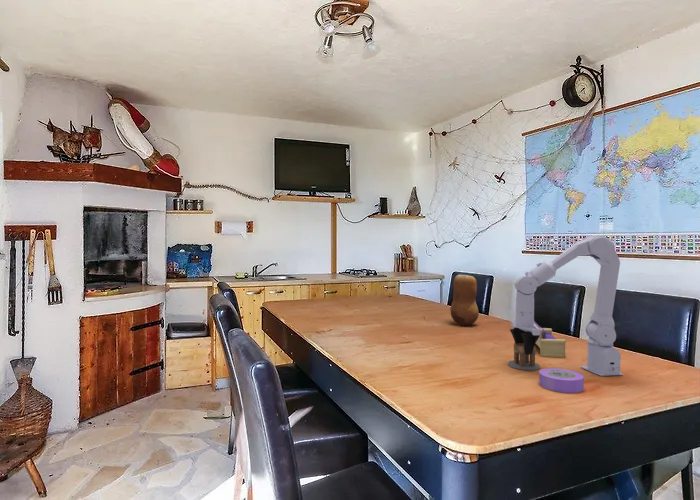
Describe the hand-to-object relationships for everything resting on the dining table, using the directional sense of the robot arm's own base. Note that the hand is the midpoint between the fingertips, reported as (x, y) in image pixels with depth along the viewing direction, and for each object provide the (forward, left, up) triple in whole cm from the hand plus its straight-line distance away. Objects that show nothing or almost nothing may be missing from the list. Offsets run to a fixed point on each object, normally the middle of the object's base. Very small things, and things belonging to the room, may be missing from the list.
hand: (524, 352), depth 148 cm
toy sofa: (+19, -20, -5) cm, 28 cm away
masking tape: (-20, 0, -5) cm, 21 cm away
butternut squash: (+70, -9, -5) cm, 71 cm away
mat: (0, 0, -5) cm, 5 cm away
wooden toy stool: (0, 0, -4) cm, 4 cm away
